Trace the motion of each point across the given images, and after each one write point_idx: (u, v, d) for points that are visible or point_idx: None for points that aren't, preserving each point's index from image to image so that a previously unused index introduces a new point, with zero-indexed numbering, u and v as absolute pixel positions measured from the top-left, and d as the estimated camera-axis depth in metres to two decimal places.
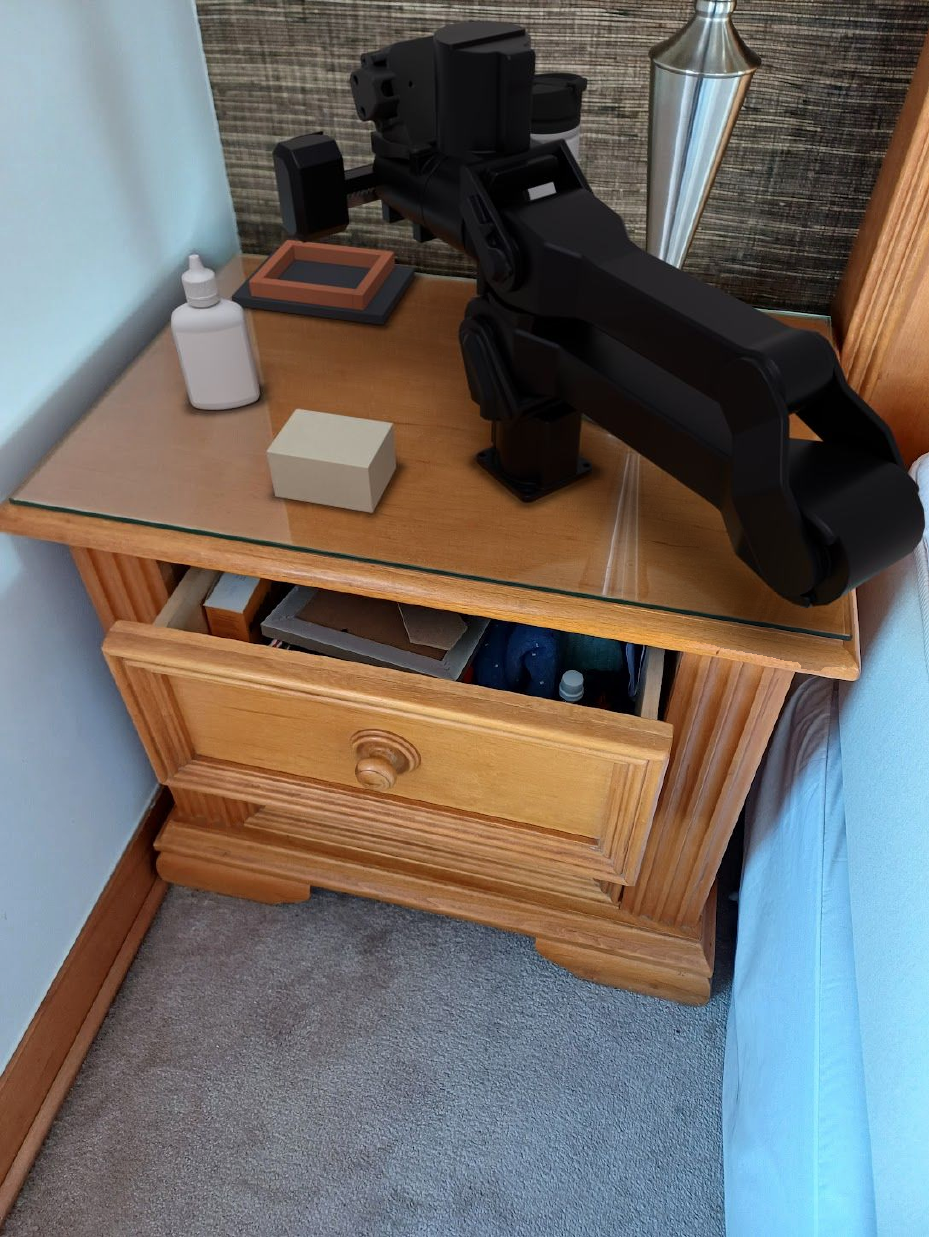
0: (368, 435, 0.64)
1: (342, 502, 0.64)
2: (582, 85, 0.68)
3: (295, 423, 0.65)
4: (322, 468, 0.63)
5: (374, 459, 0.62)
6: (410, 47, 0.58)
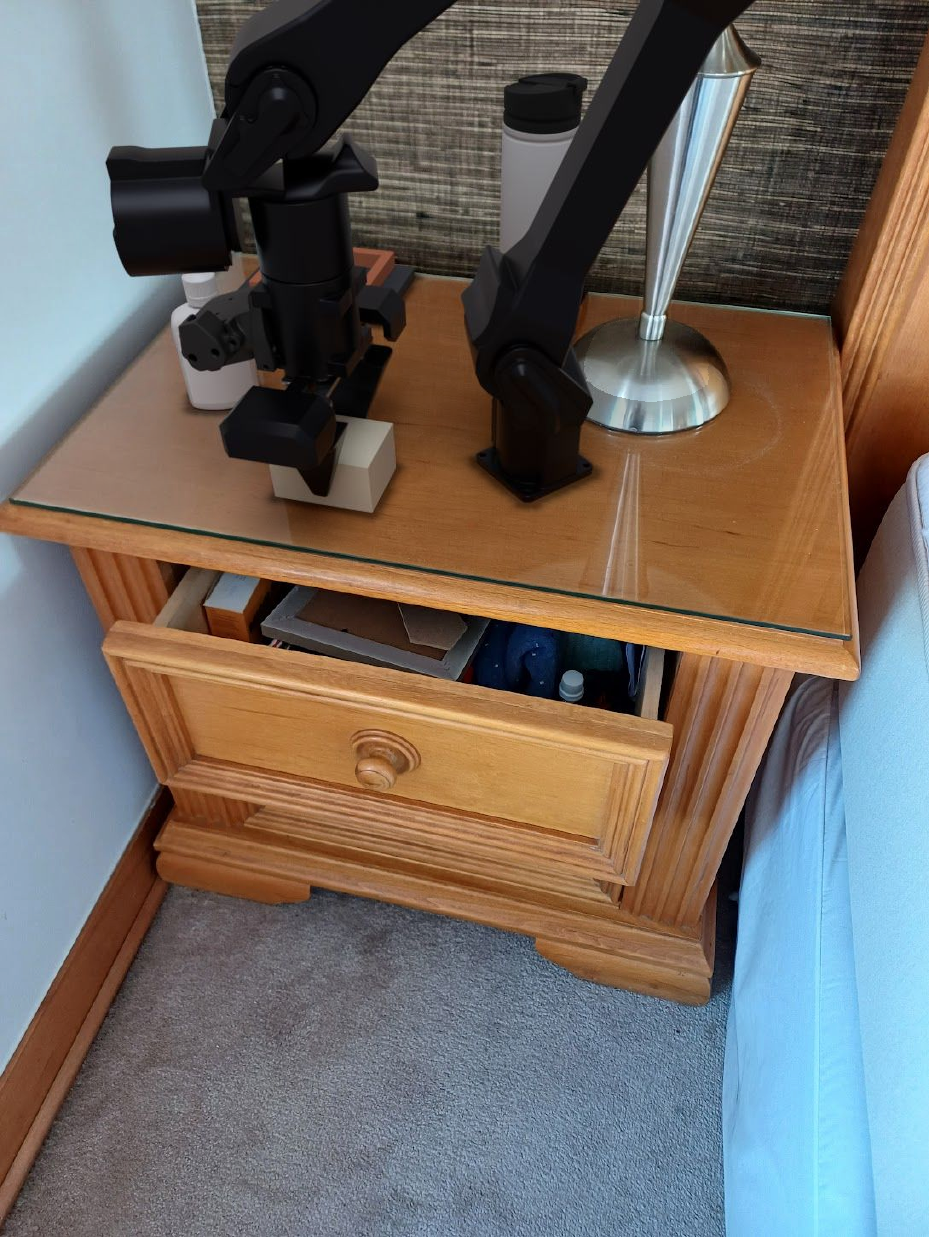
0: (368, 436, 0.64)
1: (342, 502, 0.64)
2: (582, 85, 0.68)
3: None
4: None
5: (374, 459, 0.62)
6: (196, 316, 0.59)
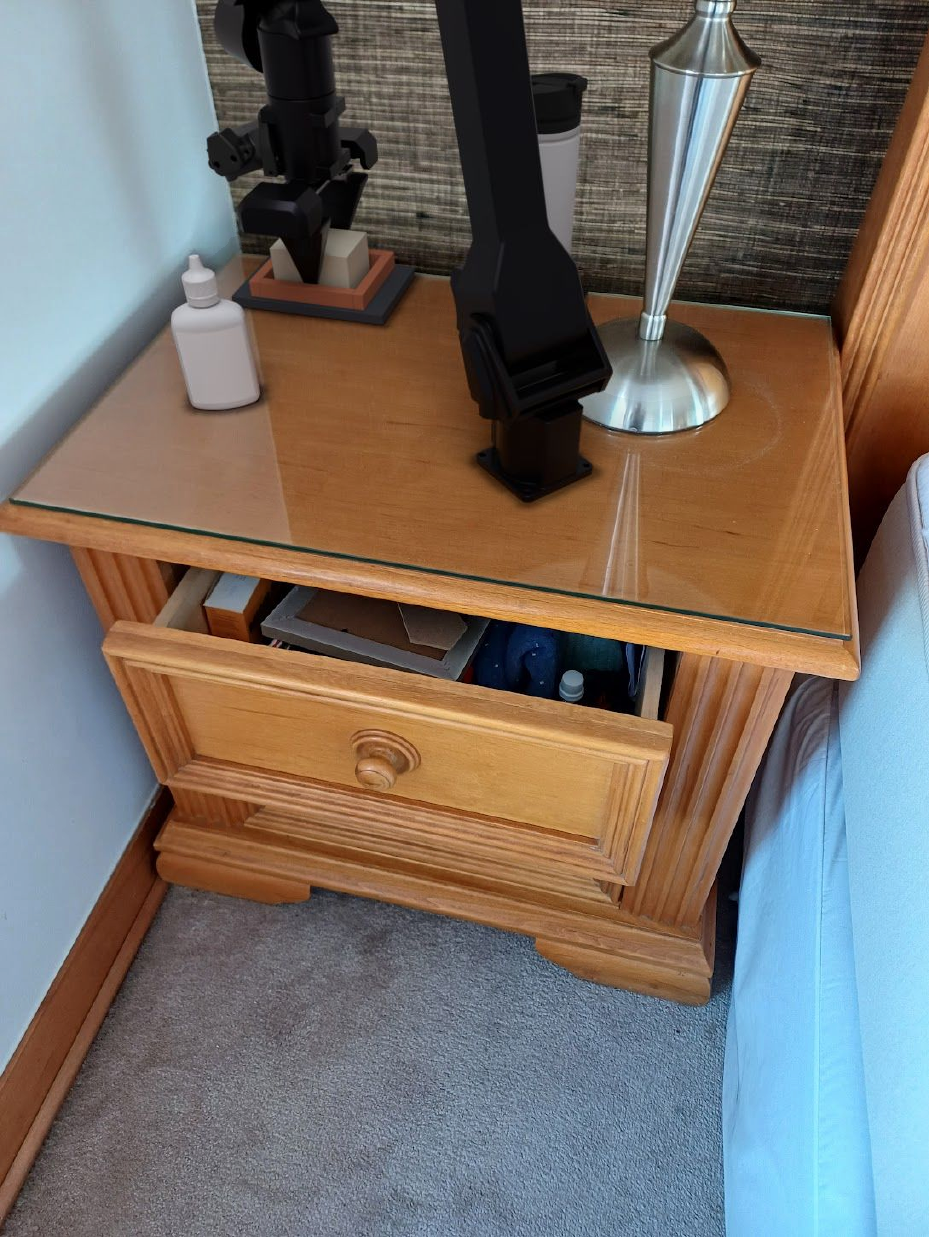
0: (347, 239, 0.84)
1: None
2: (582, 85, 0.68)
3: None
4: None
5: (351, 253, 0.82)
6: None
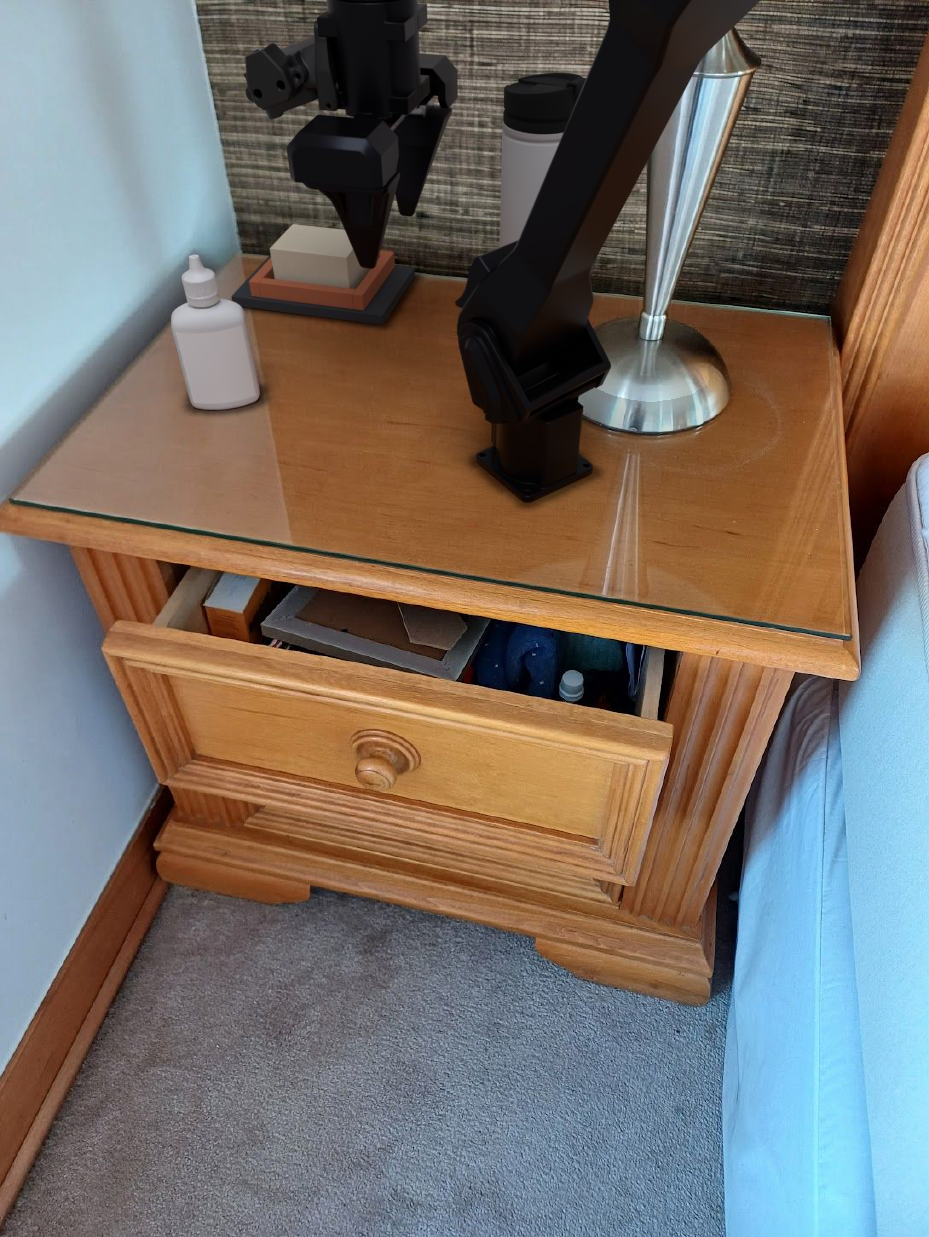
0: (347, 239, 0.84)
1: None
2: (582, 85, 0.68)
3: (292, 232, 0.85)
4: (312, 261, 0.82)
5: (351, 253, 0.82)
6: None
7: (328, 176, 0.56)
